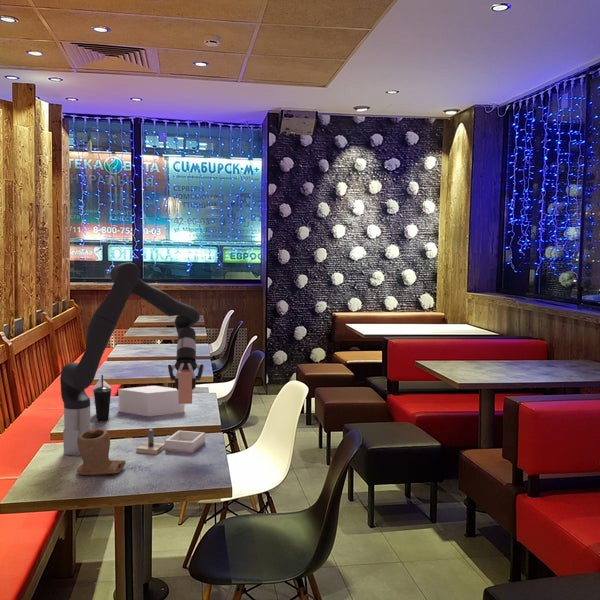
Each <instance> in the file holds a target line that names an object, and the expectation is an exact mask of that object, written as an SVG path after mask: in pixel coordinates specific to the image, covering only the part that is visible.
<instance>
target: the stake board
mask: <svg viewBox="0 0 600 600" xmlns="http://www.w3.org/2000/svg"><path fill="white" fill-rule="evenodd" d="M135 450H136V453H141V454H149V455H150V454H151V455H157V454H158V453H160V452H162V450H165V442H164V443H162V442H161V443H160V442H154V446H153V447H149V446H148V441H145V442H144V443H142V444H140V445H139V446H138V447H136V448H135Z"/></svg>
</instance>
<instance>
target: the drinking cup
mask: <svg viewBox="0 0 600 600" xmlns="http://www.w3.org/2000/svg"><path fill="white" fill-rule="evenodd" d="M100 377H101V378H100V379H101V381H102V387H98V388H96V389H94V390H93V392H94V396H93V399H94V398H95V403H94V406H95V413H96V414H95V416H96V422H98V423H105V422H108V421H109V418H110V409H111V408H110V406H111V394H112V387H111V388H108V387H103V380H104V375H103V374H101V376H100ZM93 392H92V393H93Z"/></svg>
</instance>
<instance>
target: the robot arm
mask: <svg viewBox="0 0 600 600" xmlns="http://www.w3.org/2000/svg"><path fill="white" fill-rule="evenodd" d="M140 277H141V270H140V268H139V266H138V265H137V264H136V263H135V262H134V263H133V262H124V263H120V264H117V265H114V266H113V268H112V269H111V270H110V280H111V281H112V283H113V285H112V286H111V289H110V290H109V292H108V294H107V296H106V297H105V298H104V299H103V300H102V302H101V303H100V304H99V305H98V307H97V308H96V310H95V311H94V313H93V315H92V316H91V319H90V320H89V323H88V326H87V329H86V336H85V337H86V339H85V340H86V342H85V343H86V344H85V348H84V352H83V354H82V357H81V358H80V360H79V362H74V361H73V362H69V363H66V364H65V365H64V366H63V368H62V369H61V372H60V379H59V380H60V381H59V382H60V395H61V400H62V402H63V424H64V425H63V426H64V428H63V431H62V433H63V434H62V435H63V436H62V437H63V455H65V456H76V457H79V456H81V455H80V452H79V449H78V444H77V439H78V436H79V435H80V434H81V433H83V432H85V431H88V430H92V429H91V399H90V396H89V395H88V394H87V392H86V389H88V388H89V387H90V386H91V385H92V384H93V381H94V380H95V377H96V374H97V372H98V368H99V365H100V362H101V359H102V357H103V354H104V353H105V350H106V349H107V347H108V344H109V341H110V339H111V337H112V336H113V334H114V332H115V329H116V327H117V324H118V322H119V319H120V317H121V315H122V313H123V311H124V308H125V306H126V303H127V301H128V300H129V298H130V296H131V294H133V295H136V296H137V297H140V298H141V299H142V300H144V301H146V302H147V303H149V304H150V305H151V306H153V307H155V308H156V309H157V310H158V311H160V312H162V313H163V314H164V315H165V316H167V317H173V316H176V317H175V319H174V326H175V329H176V333H177V345H176V360H175V364H172V365H171V364H168V365H167V369H168V374H169V378H170V381H172V382H174V388H176V389H177V390H178V372H179V370H192V391H193V390H194V389H196V385H197V383H196V382H197V381H201V379H202V376H203V372H204V364H203V363H201V364H198V363H197V344H196V341H197V340H196V337H197V336H196V335H197V334H196V331H195V329H194V328H192V327H193V326H194V325H196V324H197V323H198V322H199V321H200V319H201V318H200V317H201V315H200V313H199V311H198V310H197V308H194V307H193V306H192V305H189V304H186V303H183V302H181V301H178V300H177V299H175V298H173V296H171V295H169V294H168V293H166V292H164V291H163V290H160V289H158V288H157V287H155V286H152V285H150V284H148V283H147V282H146V281H144V280H142V279H141V278H140ZM175 370H176V371H177V372H176V375H174V373H173V372H174V371H175ZM195 370H197V371H198V372H197V375H195Z"/></svg>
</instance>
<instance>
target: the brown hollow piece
mask: <svg viewBox="0 0 600 600" xmlns="http://www.w3.org/2000/svg"><path fill="white" fill-rule="evenodd" d="M77 444H78V449H79V452H80V456H81V458H82V464H80V465H79V466H78V467H77V469H76V472H77V474H78V475H83V476H84V475H86V476H90V475H91V476H93V475H96V476H97V475H109V474H111V475H112V474H118V473H120V472H121V471H122V470H123V469H124V467H125V465H126V464H127V463H126V462H127V461H126V460H124V459H123V460H122V459H121V460H120V459H119V460H118V459H117V460H115V459H114V460H111V459H110V458H109V456H110V455H109V453H110V447H111V437H110V434H109V432H108V431H107V429H104V428H95V429H91V430H88V431H85V432H83V433H81V434H80V435H79V436H78V439H77Z"/></svg>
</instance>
